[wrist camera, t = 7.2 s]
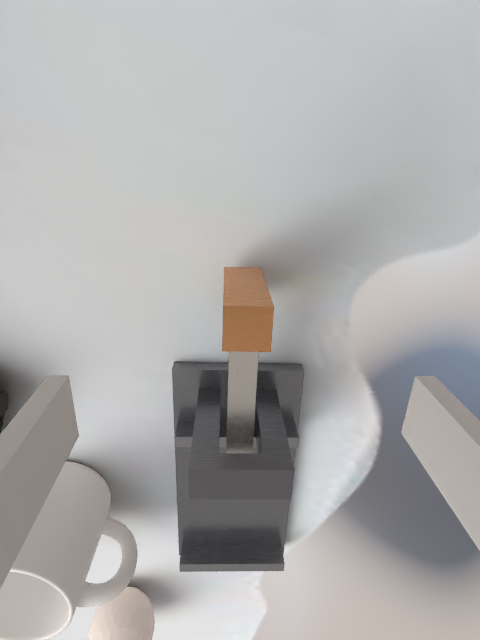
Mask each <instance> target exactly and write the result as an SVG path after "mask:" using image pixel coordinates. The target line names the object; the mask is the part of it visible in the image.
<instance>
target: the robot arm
mask: <svg viewBox="0 0 480 640" xmlns="http://www.w3.org/2000/svg"><path fill="white" fill-rule="evenodd" d="M401 433H402V435H403V436H404V438H405V439H406V441H407V442H408V443H409V445H410V447H411V448H412V450H413V451H414V453H415V454H416V456H417V457H418V459H419V460H420V462H421V463H422V465H423V466H424V468H425V469H426V471H427V472H428V474H429V475H430V477H431V478H432V480H433V481H434V483H435V484H436V486H437V487H438V489H439V490H440V492H441V493H442V495H443V496H444V498H445V499H446V501H447V502H448V504H449V505H450V507H451V508H452V510H453V511H454V513H455V514H456V516H457V517H458V519H459V520H460V522H461V523H462V525H463V526H464V528H465V529H466V531H467V532H468V534H469V535H470V537H471V538H472V540H473V541H474V543H475V544H476V546H477V547H478V549H479V550H480V421H479V420H478V419H477V418H476V417H475V416H474V415H473V414H472V413H471V412H470V411H469V410H468V409H467V408H466V407H465V406H464V405H463V404H462V403H461V402H460V401H459V400H458V399H457V398H456V397H455V396H454V395H453V394H452V393H451V392H450V391H449V390H448V389H447V388H446V387H445V386H444V385H443V384H442V383H441V382H440V381H439V380H438V379H437V378H436V377H435V376H415V380H414V384H413V388H412V392H411V396H410V400H409V404H408V408H407V412H406V416H405V420H404V424H403V428H402V432H401ZM78 436H79V434H78V428H77V422H76V416H75V410H74V404H73V399H72V393H71V387H70V381H69V376H46V378H45V379H44V380H43V381H42V383H41V384H40V385H39V386H38V388H37V389H36V390H35V391H34V393H33V394H32V395H31V396H30V398H29V399H28V400H27V401H26V403H25V404H24V405H23V406H22V408H21V409H20V410H19V411H18V413H17V414H16V415H15V416H14V418H13V419H12V420H11V421H10V423H9V424H8V425H7V426H6V428H5V429H4V430H3V431H2V433H1V434H0V589H1V587H2V585H3V583H4V581H5V579H6V577H7V575H8V573H9V571H10V569H11V567H12V565H13V563H14V562H15V560H16V558H17V556H18V554H19V552H20V550H21V548H22V546H23V544H24V542H25V540H26V538H27V536H28V534H29V532H30V530H31V528H32V526H33V524H34V522H35V520H36V519H37V517H38V515H39V513H40V511H41V509H42V507H43V505H44V503H45V501H46V499H47V497H48V495H49V493H50V491H51V489H52V487H53V485H54V483H55V481H56V479H57V477H58V475H59V474H60V472H61V470H62V468H63V466H64V464H65V462H66V460H67V458H68V456H69V454H70V452H71V450H72V448H73V446H74V444H75V442H76V440H77V438H78Z"/></svg>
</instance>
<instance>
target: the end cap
mask: <svg viewBox="0 0 480 640" xmlns="http://www.w3.org/2000/svg"><path fill="white" fill-rule="evenodd" d="M8 404H9V398H8V395H7V393H6V392H5V391H2V390H0V433H1V430H2V425H3V420H4V415H5V411H6V410H7V409H8Z"/></svg>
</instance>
